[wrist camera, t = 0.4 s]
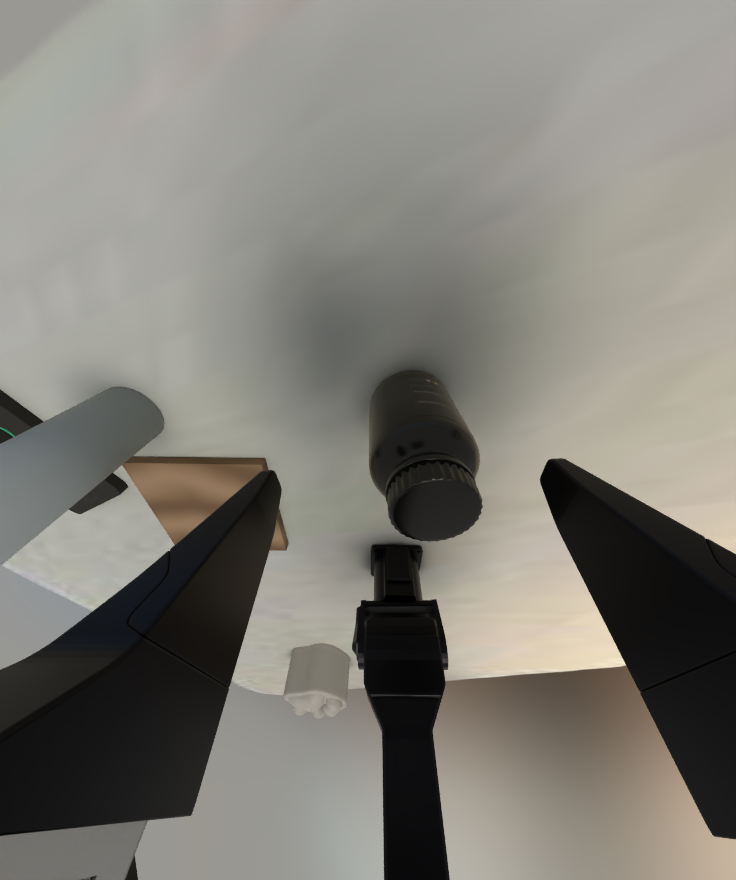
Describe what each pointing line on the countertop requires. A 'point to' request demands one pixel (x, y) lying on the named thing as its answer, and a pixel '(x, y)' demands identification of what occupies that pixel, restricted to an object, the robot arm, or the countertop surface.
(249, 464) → the walnut board
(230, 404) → the countertop surface
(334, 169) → the countertop surface
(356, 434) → the countertop surface
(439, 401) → the supplement bottle
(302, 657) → the lumpy-topped squat cylinder
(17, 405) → the smart home device
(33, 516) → the slate round-topped tapered cone
